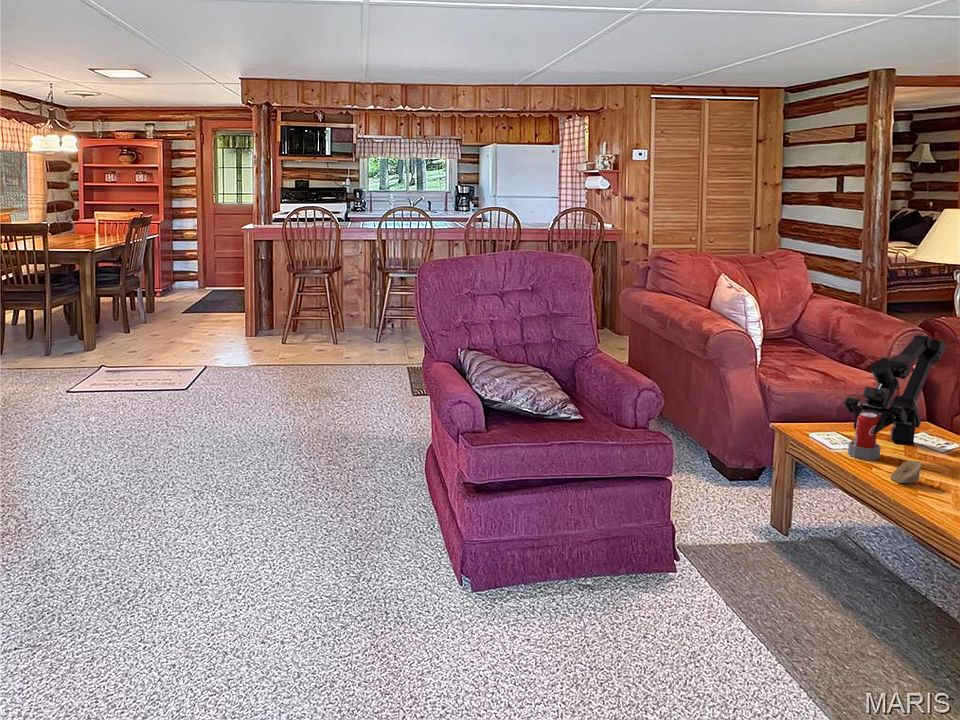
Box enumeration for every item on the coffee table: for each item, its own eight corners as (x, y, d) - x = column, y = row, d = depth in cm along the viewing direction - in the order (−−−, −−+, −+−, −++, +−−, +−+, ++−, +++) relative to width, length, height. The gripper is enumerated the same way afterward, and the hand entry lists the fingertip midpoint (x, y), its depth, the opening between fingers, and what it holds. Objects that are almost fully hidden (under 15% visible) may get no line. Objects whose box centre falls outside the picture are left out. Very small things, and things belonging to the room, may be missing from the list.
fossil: (905, 457, 269) (926, 460, 259) (914, 468, 270) (935, 471, 260) (884, 478, 268) (904, 481, 258) (894, 488, 269) (914, 493, 259)
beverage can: (873, 454, 285) (879, 418, 283) (852, 451, 288) (857, 415, 285) (874, 449, 291) (879, 413, 289) (853, 446, 294) (858, 410, 291)
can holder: (875, 453, 293) (876, 441, 293) (882, 461, 284) (883, 449, 284) (845, 451, 295) (846, 439, 294) (851, 459, 286) (852, 447, 285)
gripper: (849, 372, 294) (829, 410, 289) (906, 382, 280) (886, 422, 276) (859, 392, 301) (839, 430, 296) (915, 403, 287) (895, 442, 282)
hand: (864, 430), depth 287 cm, fingers closed on beverage can, 6 cm apart
